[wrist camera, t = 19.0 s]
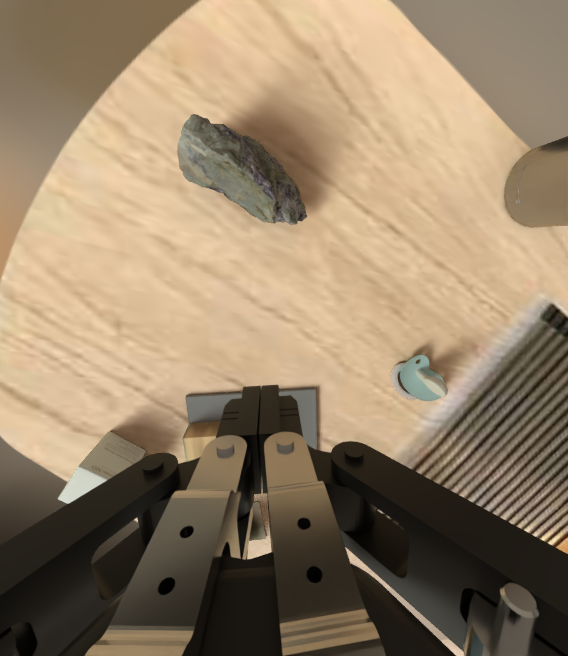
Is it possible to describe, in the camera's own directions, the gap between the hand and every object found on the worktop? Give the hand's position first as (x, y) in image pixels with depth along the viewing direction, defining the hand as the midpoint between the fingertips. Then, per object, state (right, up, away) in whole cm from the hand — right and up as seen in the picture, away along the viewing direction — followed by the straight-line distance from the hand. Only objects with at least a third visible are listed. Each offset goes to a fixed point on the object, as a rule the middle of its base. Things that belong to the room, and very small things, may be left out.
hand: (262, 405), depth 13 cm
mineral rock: (-4, +20, +23) cm, 30 cm away
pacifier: (+19, -3, +30) cm, 36 cm away
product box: (-23, -15, +31) cm, 42 cm away
